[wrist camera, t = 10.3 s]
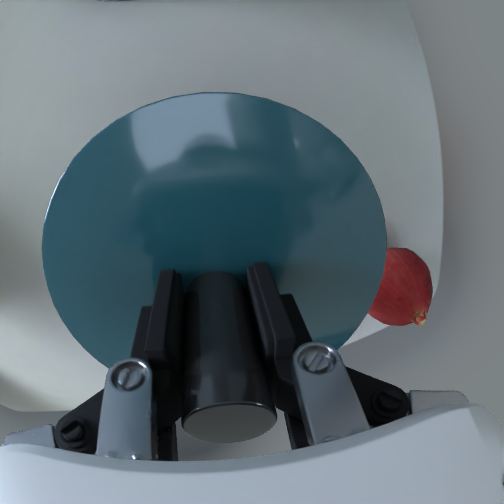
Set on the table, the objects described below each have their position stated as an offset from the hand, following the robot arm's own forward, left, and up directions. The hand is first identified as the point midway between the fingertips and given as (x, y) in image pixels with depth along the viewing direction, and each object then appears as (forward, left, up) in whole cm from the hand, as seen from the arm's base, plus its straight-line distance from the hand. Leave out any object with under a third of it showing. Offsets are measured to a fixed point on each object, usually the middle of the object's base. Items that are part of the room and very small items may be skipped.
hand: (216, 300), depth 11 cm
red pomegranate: (-13, +5, -9) cm, 17 cm away
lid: (0, 0, -1) cm, 1 cm away
